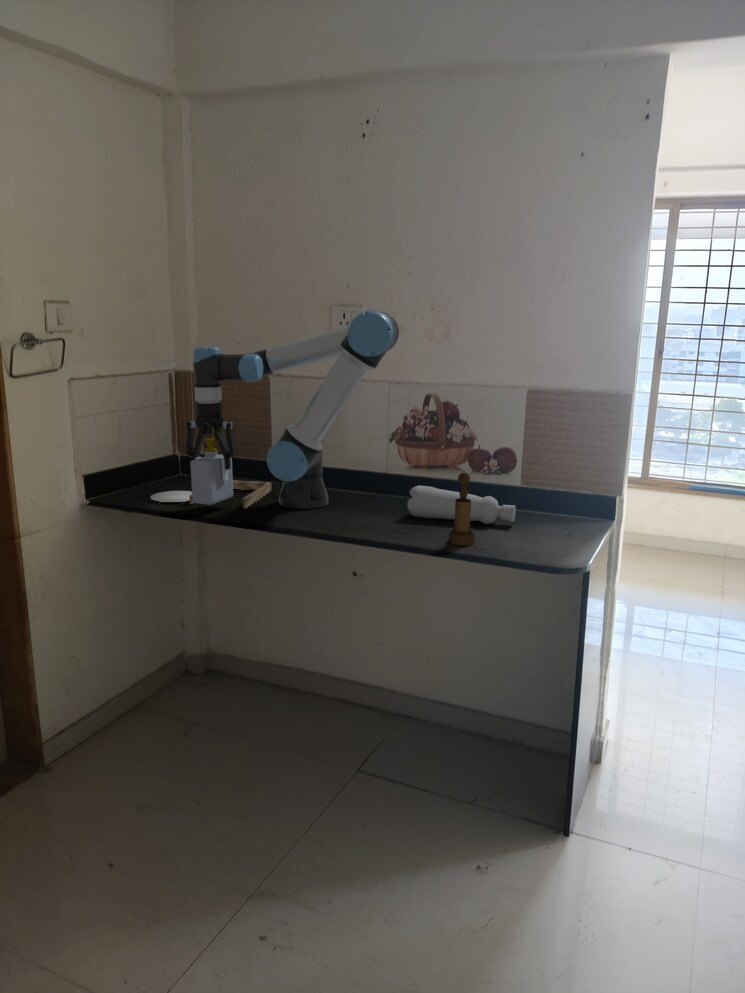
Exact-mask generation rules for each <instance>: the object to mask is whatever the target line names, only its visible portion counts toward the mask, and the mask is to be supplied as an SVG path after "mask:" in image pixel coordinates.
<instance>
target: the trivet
mask: <svg viewBox="0 0 745 993" xmlns="http://www.w3.org/2000/svg"><path fill="white" fill-rule="evenodd" d="M191 494H192V490H191V491H190V490H169V491H162V492H157V493H153V494H151V495H150V498H151V499H152V500H155V501H159V502H186V501H190V499H189V495H191ZM150 498H149V499H150ZM151 499H150V500H151Z"/></svg>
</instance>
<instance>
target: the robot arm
mask: <svg viewBox="0 0 745 993" xmlns="http://www.w3.org/2000/svg"><path fill="white" fill-rule="evenodd" d="M399 329H400V328H399V325H398V323H397V321H396V319H395V318H394V317H393V316H392V315H390V314H389V313H387V312H384V311H379V310H371V309H370V310H365V311H362V312H361V313H359V314H357V315H356V316H354V318H352V320H351V322H349V324H348V325H347V327H343V328H340V329H336V330H333V331H329V332H326V333H322V334H318V335H313V336H310V337H307V338H302V339H299V340H296V341H295V340H294V341H292V342H288V343H284V344H280V345H276V346H273V347H270V348H266V349H262V350H257V351H253V352H250V353H249V352H248V353H240V354H239V353H237V354H231V353H230V354H226V353H225V354H223V353H221V351H220V348H219V347H217V346H215V347H214V346H200V347H199V346H197V347H195V348H194V349H193V352H192V355H193V356H192V365H193V379H194V400H195V402H196V403H195V417H196V418H195V420H190V421H187V422H186V423H185V426H186V430H187V433H186V435H187V436H186V446H185V455H186V456H189V457H191V458H192V460H195V459H199V458H203V457H202V456H200V453H201V450H202V448H203V447H202V446H203V444H204V441H203V440H204V439H206V436H207V435H213V430H212V428H214V437H215V438H216V443H217V445H218V447H219V449H220V451H221V455H223V456H224V458H223V459H221V460H222V481H226V480H228V470H229V469H230V468H231V462H230V458H231V457H235V456H237V447H236V442H235V436H234V431H233V429H234V422H233V421H230V422H229V421H225V420H224V418H223V403H222V398H223V397H222V382H226V381H227V382H247V383H251V382H259V381H261V379H262V378H264V377H267V376H270V375H273V374H278V373H282V372H286V371H289V370H293V369H296V368H302V367H306V366H308V365H312V364H317V363H321V362H324V361H328V360H329V361H330V360H332V359H335V358H337V359H336V361H335V362H334V364H333V365H332V366H331V368H330V370H329V371H328V373H327V374H326V375H325V377H324V379H323V381H322V382H321V384H320V386H318V388H317V390H316V391H315V393H314V395H313V396H312V398H311V400H309V403H308V404H307V405H306V407H305V408H304V410H303V412H302V414H300V416H299V418H298V419H297V421H296V423H294V424H289V425H287V427H286V428H285V429H284V431H283V433H282V434H281V436H280V438H278V441H277V442H275V443H274V444H273V445H271V446H270V448H269V450H268V451H267V453H266V454H267V455H266V464H267V467H268V469H269V470H268V471H269V472H270V473H271V474H272V475H273V477H274V478H276V479H278V480H280V481H282V486H281V489H280V492H279V495H278V505H280V506H281V507H283V508H287V509H295V510H307V509H308V510H309V509H311V510H312V509H317V508H322V507H326V506H327V505H329V495H328V491H327V489H326V485H325V482H324V479H323V443H324V439H323V438H324V437H325V435H326V434H327V432H328V431H329V429H331V428H330V427H331V426H332V425H333V423H335V422H334V421H335V420H336V419H337V417H338V416H339V415H340V412H341V411H342V409H343V408H344V407H345V405H346V403H347V402H348V401H349V399H350V397H351V396H352V395H353V393H354V392H355V390H356V389H357V387H358V386H359V384H360V382H361V381H362V379H363V378H364V376H365V375H366V374H367V372H368V371H371V370H376V368H377V367H378V365H379V364H380V362H381V361H382V359H383V358H384V356H385V355H386V353H387V352H389V351H390V350H392V349H393V348H394V347H395V345H396V344H397V342H398V339H399V336H400V330H399ZM204 422H206V423H209V425H207V424H205V423H204ZM196 427H197V428H198V433H197V437H196V441H195V434H196ZM222 428H224V430H225V437H226V440H225V438H224V436H223V431H222ZM219 431H220V433H219V434H218V432H219ZM226 441H227V442H226Z"/></svg>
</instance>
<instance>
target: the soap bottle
mask: <svg viewBox="0 0 745 993" xmlns="http://www.w3.org/2000/svg"><path fill="white" fill-rule="evenodd" d="M204 423H205V424H207V425H209V423H206V422H204ZM212 430H213V434H212V438H204V440H203V442H205V444H206V445H207V448H205V449H204V455H205V456H203V457H202V458H199V459H195V460H193V459H191V461H190V478H191V479H190V481H191V492H192V499H193V503H196V504H199V505H200V504H201V505H210V506H211V505H214V504H217V503H220V502H222V501H224V500H227V499H230V498H232V497H234V490H233V480H234V478H233V477H234V476H233V458H232V457H231V458H230V462H231V468H230V469H229V470H228V480H226V481H222V460H221V459H223V458H224V456H223V454H218V449H217V448H216V447H214V445H215V444H216V443H217V440H216V438H215V437H214V428H212ZM219 433H220V431H219V432H218V434H219Z"/></svg>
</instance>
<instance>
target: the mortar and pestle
mask: <svg viewBox="0 0 745 993" xmlns="http://www.w3.org/2000/svg"><path fill="white" fill-rule="evenodd" d="M470 481H471V477H470V475H469V473H467V472H461V473H460V474H458V477H457V482H458V484H459V486H460V490H459V491H458V492H459V494H460V498H458V499H456V502H455V520H454V526H453V529H452V530H451V531H449V533H448V543H450V544H453V545H455V546H472V545H473V544H475V533H474V532H473V531H472V530H471V529H470V527H471V521H470V513H471V500H469V499H466V498H467V495H468V494H469V491H468V489H467V487H468V485H469V483H470Z"/></svg>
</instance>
